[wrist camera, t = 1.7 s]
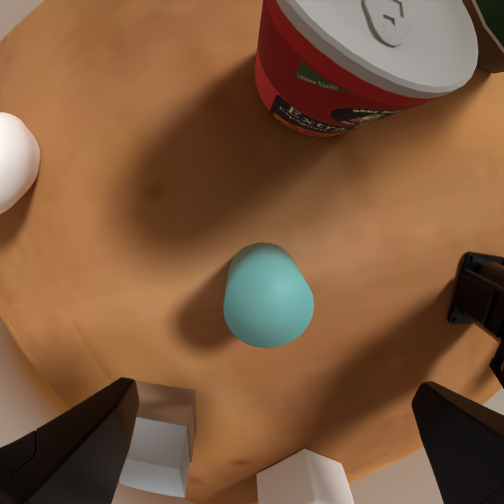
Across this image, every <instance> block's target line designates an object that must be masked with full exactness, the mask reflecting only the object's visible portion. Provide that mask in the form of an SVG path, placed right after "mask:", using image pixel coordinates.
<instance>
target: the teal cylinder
mask: <svg viewBox="0 0 504 504" xmlns="http://www.w3.org/2000/svg"><path fill="white" fill-rule="evenodd" d="M313 311H314V300H313V295H312V292H311V290H310V288H309V286H308V284H307V283H306V281H305V279H304V278H303V276H302V274H301V273H300V271H299V270H298V268H297V266H296V265H295V263H294V262H293V260H292V258H291V257H290V256H289V254H288V253H287V252H286V251H285V250H283V249H282V248H280V247H279V246H276V245H274V244H270V243H255V244H251V245H249V246H247V247H245V248H243V249H242V250H240V251H239V252H238V253H237V254H236V255H235V256H234V258H233V259H232V261H231V263H230V266H229V269H228V276H227V284H226V291H225V298H224V306H223V312H224V318H225V321H226V324H227V326H228V328H229V329H230V331H231V332H232V333H233V334H234V335H235V336H236V337H237V338H238V339H240V340H241V341H243V342H244V343H246V344H249V345H252V346H255V347H261V348H272V347H278V346H282V345H285V344H287V343H289V342H291V341H293V340H294V339H296V338H297V337H298V336H300V335H301V334H302V333H303V332H304V330H305V329H306V328H307V326H308V325H309V323H310V321H311V318H312V315H313Z"/></svg>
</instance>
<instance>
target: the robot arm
mask: <svg viewBox="0 0 504 504" xmlns="http://www.w3.org/2000/svg"><path fill="white" fill-rule="evenodd" d="M469 258H470V259H469ZM447 320H448V322H449V323H450V324H463V323H474V324H475V325H477V326H478V327H479V328H481V329H482V330H483V331H485V332H486V333H487V334H489V335H490V336H491V337H493V338H494V339H495V340H496V341H498V342H499V343H500V344H499V347H498V349H497V351H496V353H495V356H494V358H493V359H492V360H491V362H490V364H489V366H490V367H491V369H492V371H493V372H494V374H495V375H496V377H497V379H498V380H499V382H500V384H501V385H502V387H503V389H504V257H501V256H495V255H488V254H482V253H476V252H467V253H466V255H465V258H464V263H463V267H462V271H461V275H460V279H459V283H458V286H457V290H456V293H455V297H454V300H453V303H452V307H451V310H450V313H449V316H448V319H447ZM138 408H139V395H138V390H137V384H136V381H135V380H134V379H130V378H125V377H121V378H119V379H118V380H116V381H114V382H113V383H111V384H110V385H108V386H107V387H105V388H103V389H102V390H100V391H99V392H97V393H95V394H94V395H92V396H91V397H89V398H87V399H86V400H84V401H83V402H81V403H79V404H78V405H76V406H74V407H73V408H71V409H69V410H68V411H66V412H65V413H63V414H61V415H60V416H58V417H56V418H55V419H53V420H51V421H50V422H48V423H46V424H45V425H43V426H41V427H39V428H38V429H37V430H36V431H32V432H31V433H29V434H27V435H25V436H24V437H22V438H20V439H18V440H16V441H14V442H12V443H10V444H8V445H6V446H3V447H1V448H0V504H111V503H112V500H113V497H114V493H115V490H116V487H117V484H118V481H119V478H120V475H121V472H122V469H123V466H124V463H125V460H126V458H127V455H128V452H129V448H130V445H131V440H132V435H133V431H134V426H135V422H136V417H137V413H138ZM412 409H413V412H414V416H415V419H416V422H417V426H418V429H419V433H420V437H421V440H422V443H423V446H424V448H425V451H426V453H427V456H428V459H429V461H430V464H431V467H432V469H433V472H434V475H435V478H436V481H437V484H438V487H439V490H440V493H441V496H442V499H443V502H444V504H504V415H501V414H499V413H497V412H495V411H493V410H491V409H488V408H486V407H484V406H482V405H480V404H478V403H476V402H474V401H472V400H470V399H467V398H465V397H463V396H461V395H459V394H457V393H455V392H453V391H451V390H449V389H447V388H445V387H443V386H441V385H439V384H437V383H435V382H433V381H428V382H423V383H422V384H421V385H420V386H419V388H418V390H417V392H416V394H415V396H414V398H413V400H412Z"/></svg>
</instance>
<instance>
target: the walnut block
mask: <svg viewBox="0 0 504 504" xmlns="http://www.w3.org/2000/svg"><path fill="white" fill-rule="evenodd" d="M136 384H137V390H138V395H139V408H138V413H137V417H139V418H144V419H149V420H154V421H159V422H165V423H171V424H178V425H185V426H187V432H188V444H189V455H190V462H192V455H193V448H194V442H195V435H196V413H195V390H191V389H184V388H176V387H170V386H163V385H157V384H151V383H146V382H140V381H136Z"/></svg>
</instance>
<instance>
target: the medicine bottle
mask: <svg viewBox="0 0 504 504" xmlns="http://www.w3.org/2000/svg"><path fill="white" fill-rule="evenodd" d="M257 491H258V504H354V501H353V497H352V494H351V491H350V488H349V485H348V482H347V479H346V476H345V473H344V469H343V466H342V464H341V463H339V462H337V461H334V460H332V459H329V458H327V457H324V456H322V455H319V454H317V453H315V452H312V451H310V450H308V449H302V450H300V451H299V452H297V453H295V454H293V455H292V456H290V457H288V458H286V459H284V460H282V461H281V462H279V463H277V464H275V465H273V466H271V467H269V468H267V469H265V470H263V471H261V472H259V473H257Z"/></svg>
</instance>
